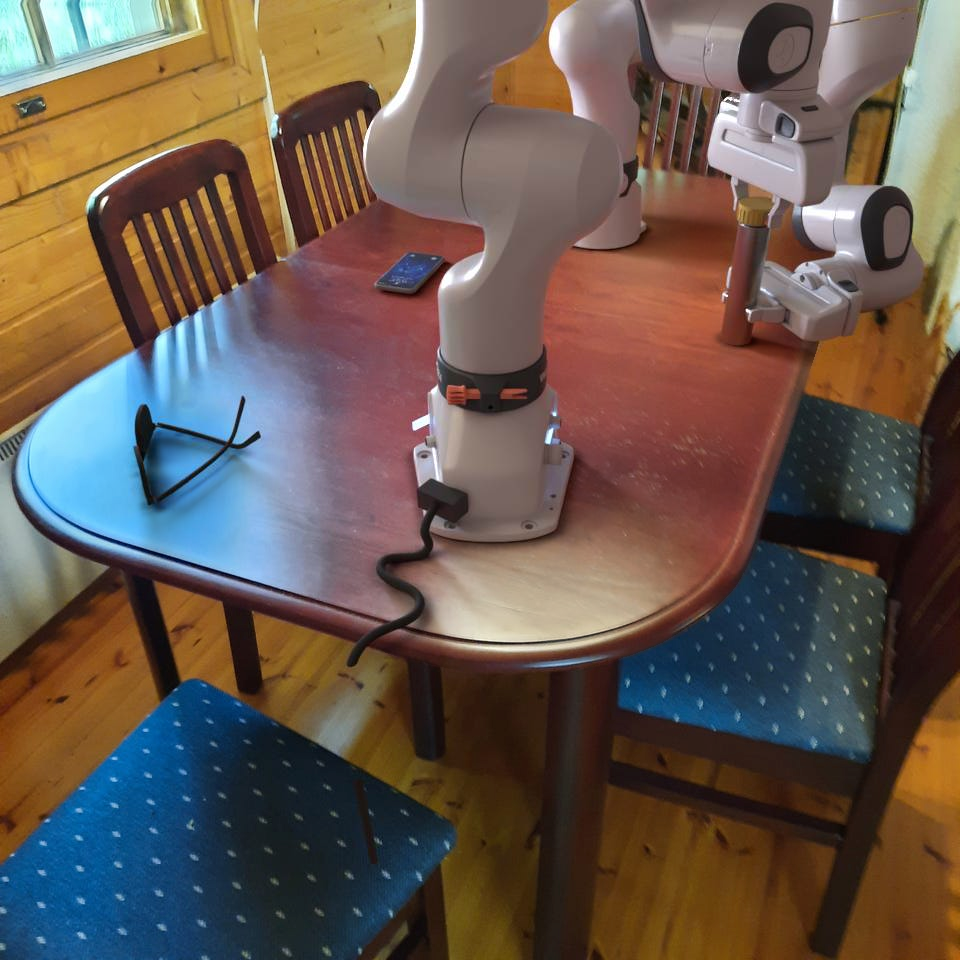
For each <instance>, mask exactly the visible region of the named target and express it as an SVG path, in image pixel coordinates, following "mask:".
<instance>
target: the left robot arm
mask: <svg viewBox="0 0 960 960" xmlns="http://www.w3.org/2000/svg"><path fill="white" fill-rule="evenodd" d="M633 1H634V5H635V10H636V15H637V22H638V44H639V52H640V56H641V59H642V61H641V62H642V64H643V66H644V68H645V70H646V72H647V73H648V75H650V77H651V78H652V79H653V80H655V81H656V82H659V83H665V84H667V83H668V84H680V85H687V84H688V85H693V86H697V87H702V88H706V89H707V88H708V89H712V90H719V91H728V92H732V93H731V94H729V95H727V96H726V97H725V98H724V99H723V100H722V101H721V103H720V105H719V111H718V114H717V115H716V118H715V119H714V122H713V126H712V129H711V135H710V139H709V143H708V149H707V161H708V164H709V166H710V167H711V168H714V169H716V170H718V171H720V172H723V173H725V174H727V175H729V176H731V180H730V186H731V189H732V195H733V199H734V201H733V208H732V209H733V211H734V212H736V213H737V208H738V204H739V201H740V200H741V199H743V198H746V197H750V195H749V185H751V186H754V187H756V188H758V189H760V190H763V191H764V192H767V193H769V194H772V198H771V199H772V202H773V203H775V205H774V206H773V208H772V209H771V211H770V212H766V213H765V214H764V221H763V225H764V226H766V227H768V228H770V229H771V230H775V229H778V228H780V227H781V226H782V222H783V218H784V215H785V213H786V212H787V211H788V210H789V208H790V207H791V205H793V204H794V205H795V204H796V205H798V206H800V207H807V206H813V205H817V204H821V203H822V202H824V201H825V199H826V198H827V197H828V196H829V194H830V191H831V187H832V183H833V179H834V174H835V168H836V162H837V155H838V148H837V143H836V141H835V140H834V138H833V137H834V136H838V135H840V134H841V132H842V129H843V125H844V120H843V118H842V116H841V115H840V114H839V113H837V112H836V111H835V110H834V109H833V108H832V107H831V106H830V105H829V104H828V103H827V102H826V101H825V100H824V99H823V97H822V96H821V95H820V94H818V93H817V90H818V84H819V68H820V63H821V59H822V54H823V50H824V48H825V46H826V43H827V39H828V34H829V29H830V26H831V24H830V23H831V17H832V10H833V2H834V0H633ZM415 6H416V7H415V8H416V12H415V13H416V26H415V38H414V39H415V40H414V46H413V51H412V56H411V59H410V63H409V67H408V70H407V72H406V75H405V77H404V79H403V81H402V83H401V85H400V87H399V89H398V90H397V92H395V94H394V96H393V97H391V99H390V100H389V101H388V102H386V104H384V105H383V106H382V107H381V108H380V109H379V111H377V113H376V114H375V115H374V116H373V119H372V121H371V122H370V124H369V126H368V128H367V131H366V133H365V138H364V142H363V149H362V150H363V151H362V159H363V167H364V172H365V176H366V179H367V181H368V184H369V186H370V188H371V190H372V191H373V193H374V194H375V196H376V197H377V198H378V199H379V200H381V201H382V202H383V203H386V204H388V205H391V206H393V207H395V208H398V209H400V210H402V211H404V212H407V213H410V214H413V215H415V216H418V217H419V218H420V217H421V218H426V219H433V220H437V221H438V220H439V221H445V222H450V223H455V224H463V225H469V226H475V227H477V228H481V229H482V231H483V235H484V248H483V251H479V252H477V253H473V254H472V255H469V256H467V257H465V258H462V259H461V260H459V261H458V262H455V263H454V264H453V265H452V266H451V267H450V268H449V269H448V270H447V271H446V273H445V274H444V275H443V277H442V278H441V281H440V284H439V287H438V290H437V305H438V306H437V307H438V324H439V326H438V327H439V342H440V343H439V344H440V345H439V346H438V348H437V354H436V356H437V358H436V363H435V364H436V376H437V384H436V385H435V387H434V386H433V388H432V389H431V390H430V391H428V392H427V406H428V407H427V409H428V414H427V415H425V416H422V417H420V418H418V419H416V420H414V421H412V430H413V431H417V430H418V429H420V428H422V427H425V426H426V425H428V424H429V435H426V436H425V438H424V442H422V443H419V444H417V445H416V446H415V447H414V448H413V454H412V455H413V457H412V458H413V464H414V470H415V475H416V476H415V477H416V480H417V488H416V500H417V508H419V509H420V510H422V516H423V518H422V520H421V523H420V529H419V533H420V538H421V540H422V542H423V547H422V548H421V549H419V550H416V551H412V552H396V553H395V552H394V553H388V554H385V555H383V556H381V557H380V558H379V559H378V560H377V563H376V565H375V566H376V567H375V571H376V574H377V576H378V577H379V579H381V581H383V582H384V583H386V584H388V585H389V586H392V587H393V588H396V589H397V590H400V591H401V592H404V593H405V594H407V595H409V596H410V597H411V598H412V599H413V600H414V607H413V608H412V609H411V611H409V612H408V613H406V614H404V615H403V616H400V617H398V618H396V619H393V620H390V621H388V622H385V623H384V624H381V625H379V626H377V627H374V628H372V629H371V630H370V631H368V632H367V633H365V634H364V635H363V636H362V637H361V638H360V639H359V640H358V641H357V642H356V643H355V645H354V646H353V647H352V649H351V651H350V653H349V655H348V658H347V660H346V667H348V668H354V667H356V665H357V664H358V662H359V660H360V659H361V656H362V655H363V653H364V651H365V650H366V649H367V648H368V647H369V646H370V645H371V644H372V643H374V642H375V641H376V640H378V639H380V638H381V637H383V636H385V635H387V634H390V633H392V632H395V631H397V630H400V629H403V628H405V627H408V626H409V625H411V624H412V623H414V622H416V621H417V620H418V619H419V618H420V617H421V615H422V614H423V612H424V609H425V605H426V602H425V601H426V600H425V597H424V596H423V593H422V591H420V590H419V588H417V587H416V586H414V585H413V584H411V583H409V582H407V581H405V580H403V579H401V578H399V577H397V576H394V575H393V574H392V573H390V572H388V571H387V570H386V568H387V565H389V564H391V563H392V564H393V563H408V562H416V561H420V560H423V559H425V558H426V557H427V556H429V554H431V552H432V551H433V549H434V540H433V538H432V536H431V533H432V534H434V535H437V536H440V537H443V538H448V539H452V540H457V541H466V542H477V543H478V542H480V543H500V542H501V543H502V542H503V543H506V542H518V541H527V540H531V539H536V538H539V537H543V536H546V535H548V534H550V533H552V532H554V531H556V530H557V527H558V525H559V520H560V518H561V517H560V516H561V512H562V508H563V504H564V500H565V497H566V492H567V488H568V483H569V480H570V476H571V472H572V469H573V468H572V467H573V464H574V459H575V450H574V447H573V446H571V445H570V444H568V443H566V442H563V441H561V439H560V438H558V430H560V429H561V428H562V416H559V392H557V391H556V390H555V389H554V388H553V387H552V386H551V385H550V384H549V383H548V382H547V379H548V367H549V361H548V356H547V355H548V354H547V353H548V351H547V347H546V345H545V344H544V332H545V331H544V330H545V329H544V328H545V316H546V303H547V296H548V290H549V286H550V281H551V279H552V276H553V273H554V272H555V269H556V267H557V266H558V264H559V263H560V261H561V259H562V258H563V257H564V255H565V254H566V253H567V252H568V251H569V250H570V249H571V248H572V247H574V246H573V245H574V244H576V243H577V242H578V241H580V240H581V239H583V238H584V237H586V236H588V235H589V234H591V233H593V232H594V231H595V230H596V229H598V228H599V227H600V226H601V225H602V224H603V223H604V222H605V221H606V220H607V218H608V217H609V216H610V214H611V213H612V211H613V210H614V208H615V206H616V204H617V201H618V199H619V196H620V193H621V189H622V184H623V161H622V156H621V152H620V149H619V146H618V144H617V142H616V140H615V138H614V136H613V134H612V133H611V131H610V130H609V129H608V128H607V127H606V126H604V125H601V124H598V123H596V122H593V121H590V120H587V119H585V118H582V117H579V116H576V115H573V114H572V113H570V112H566V111H563V110H556V109H548V108H539V107H538V108H537V107H528V106H518V105H508V104H499V103H497V102H494V99H493V83H494V77H495V73H496V70H497V69H499V68H501V67H504V66H506V65H507V64H509V63H511V62H512V61H514V60H516V59H518V58H519V57H520V56H522V55H524V54H525V53H526V52H528V51H529V50H530V49H532V48H533V47H534V45H536V43H537V42H538V41H539V40H540V38H541V36H542V35H543V32H544V30H545V27H546V25H547V22H548V18H549V9H550V8H549V6H550V1H549V0H415ZM735 93H738V94H735ZM352 782H353V786H354V793H355V798H356V802H357V808H358V813H359V817H360V823H361V826H362V832H363V837H364V841H365V847H366V852H367V856H368V857H367V858H368V862H370V863H371V864H373V865H374V864H376V863H377V862H378V863H379V859H378V851H377V846H376V840H375V835H374V831H373V826H372V822H371V817H370V812H369V811H370V810H369V806H368V801H367V796H366V795H367V794H366V790H365V784H364V778H363V777H360V778H357V779H354V780H353V781H352ZM370 863H369V864H370Z"/></svg>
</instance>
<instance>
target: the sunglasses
mask: <svg viewBox="0 0 960 960" xmlns="http://www.w3.org/2000/svg"><path fill="white" fill-rule="evenodd" d="M245 404H246V398H245V396H244V395H241V396H240V401H239V405H238V408H237V409H238V410H237V413H236V417H235V421H234V425H233V429H232V432H231V435H230V437H229V439H228V440H227V441H226V440H223V439H220V438H217V437H214V436H211V435H208V434H204V433H201V432H198V431H195V430H192V429H188V428H184V427H180V426H176V425H172V424H169V423H164V422H159V421H157V422H153V418H152V414H151V411H150V408H149V406H148V404H146V403H142V404H140V405H139V406H138V409H137V411H136V413H135V418H134V436H135V444H136V445H133V447H132V448H133V452H134V455H135V460H136V463H137V467H138V471H139V475H140V479H141V485H142V489H143V493H144V497H145V500H146V503H147V505H148V506H151V505H154V504H155V501H156V503H157V504H160V503H162V501H164V500H165V499H167V498H168V497H170V496H171V495H172V494H174V493H175V492H177V491H178V490H179V489H181V488H182V487H184V486H185V485H187V484H188V483H189V482H191V481H192V480H193V479H194V478H196V477H197V476H198V475H200V474H202V473H203V472H204V471H205V470H206V469H208V467H210V466H211V465H212V464H213V463H215V462H216V461H217V460H218V459H220V457H222V455H223V454H224V453H225V452H226V451H228V449H229V448H231V449H233V450H242V449H246V448H247V447H249V446H250V445H252V444H254V443H255V442H256V441H258V440H260V439H261V438H262V435H261V432H260V430H256V431H255V432H254V433H253V434H252V435H250V436H249V437H248V438H247V439H246V440H245V441H244V442H241V443H233V442H234V441H235V438H236V435H237V434H238V429H239V426H240V423H241V419H242V415H243V412H244V409H245ZM157 428H160V429H164V430H168V431H172V432H175V433H179V434H183V435H188V436H191V437H195V438H199V439H202V440H205V441H209V442H211V443H215V444H218V445H221V446H223V447H221V449H220V450H219V451H217V452H216V453H215V454H214V455H213V456H212V457H211V458H209V459H208V460H207V461H206V462H204V463H203V464H202V465H200V466H199V467H198V468H196V469H195V470H193V471H192V472H191V473H189V474H188V475H187V476H186V477H184V478H183V479H180V481H178V482H177V483H176V484H174V485H172V486H171V487H169V488H168V489H166V490H165V491H163V492H162V493H161V494H160V495H158V496H157V497H154V495H152V491H151V487H150V484H149V479H148V474H147V470H146V467H145V463H144V461H145V459H146V456H147V453H148V450H149V448H150V445H151V442H152V438H153V435H154V432H155V430H157Z"/></svg>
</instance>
